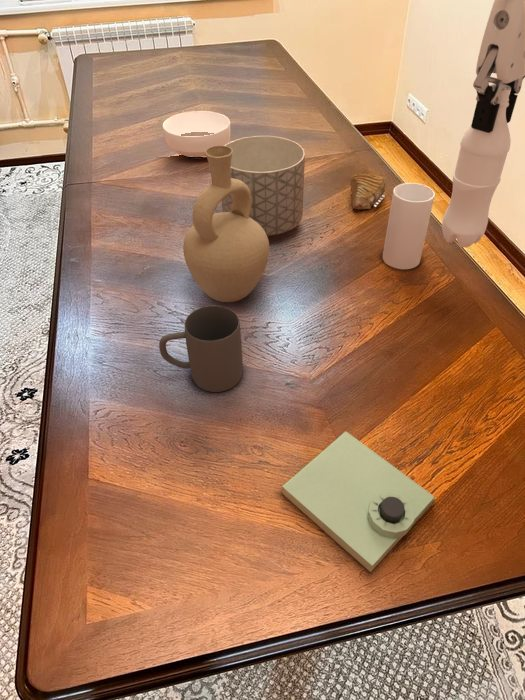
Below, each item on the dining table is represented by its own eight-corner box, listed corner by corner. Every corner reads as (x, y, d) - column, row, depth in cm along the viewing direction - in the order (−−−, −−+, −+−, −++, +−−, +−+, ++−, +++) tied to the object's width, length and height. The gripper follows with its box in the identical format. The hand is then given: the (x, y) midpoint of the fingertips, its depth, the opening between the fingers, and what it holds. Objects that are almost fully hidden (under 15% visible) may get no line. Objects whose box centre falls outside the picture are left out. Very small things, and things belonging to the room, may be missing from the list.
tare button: (407, 512, 71) (409, 506, 70) (393, 527, 70) (395, 521, 69) (388, 498, 73) (390, 492, 72) (375, 512, 71) (376, 506, 70)
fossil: (381, 190, 142) (347, 186, 142) (387, 171, 138) (353, 167, 137) (386, 219, 135) (351, 215, 134) (393, 200, 130) (356, 196, 130)
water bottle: (441, 225, 97) (475, 77, 80) (483, 232, 95) (527, 81, 78) (436, 246, 92) (471, 93, 75) (480, 254, 90) (526, 98, 73)
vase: (235, 328, 103) (225, 182, 83) (172, 297, 111) (149, 155, 90) (285, 286, 113) (288, 145, 92) (224, 259, 120) (214, 124, 99)
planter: (272, 199, 140) (272, 129, 127) (317, 230, 128) (322, 156, 116) (209, 221, 132) (202, 149, 120) (251, 256, 121) (249, 180, 108)
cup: (388, 245, 123) (399, 179, 112) (424, 253, 121) (439, 187, 110) (377, 263, 118) (388, 197, 107) (414, 273, 115) (429, 205, 104)
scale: (435, 506, 75) (440, 492, 73) (373, 575, 69) (377, 562, 66) (344, 438, 84) (346, 424, 82) (281, 493, 77) (282, 480, 75)
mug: (240, 353, 98) (237, 302, 90) (246, 390, 92) (243, 338, 83) (165, 361, 97) (155, 310, 89) (166, 399, 91) (154, 347, 82)
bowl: (192, 172, 152) (189, 142, 146) (153, 151, 163) (149, 122, 157) (245, 151, 161) (244, 123, 155) (204, 133, 172) (202, 105, 166)
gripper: (524, -8, 61) (483, 149, 74) (588, -28, 70) (541, 116, 82) (466, -16, 65) (436, 134, 78) (533, -34, 74) (496, 104, 86)
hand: (490, 124), depth 80 cm, fingers closed on water bottle, 4 cm apart
